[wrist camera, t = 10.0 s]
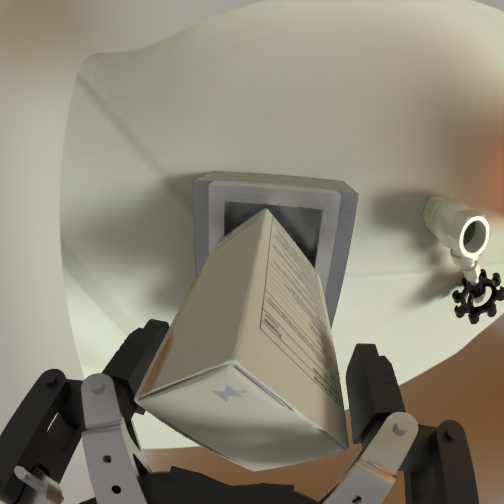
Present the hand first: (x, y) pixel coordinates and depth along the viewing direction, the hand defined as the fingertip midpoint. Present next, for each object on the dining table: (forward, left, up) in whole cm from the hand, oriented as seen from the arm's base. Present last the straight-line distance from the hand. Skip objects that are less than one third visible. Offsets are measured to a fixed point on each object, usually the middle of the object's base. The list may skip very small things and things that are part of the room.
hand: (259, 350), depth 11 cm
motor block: (0, +2, -14) cm, 14 cm away
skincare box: (0, 0, -8) cm, 8 cm away
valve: (-18, -1, -15) cm, 23 cm away
